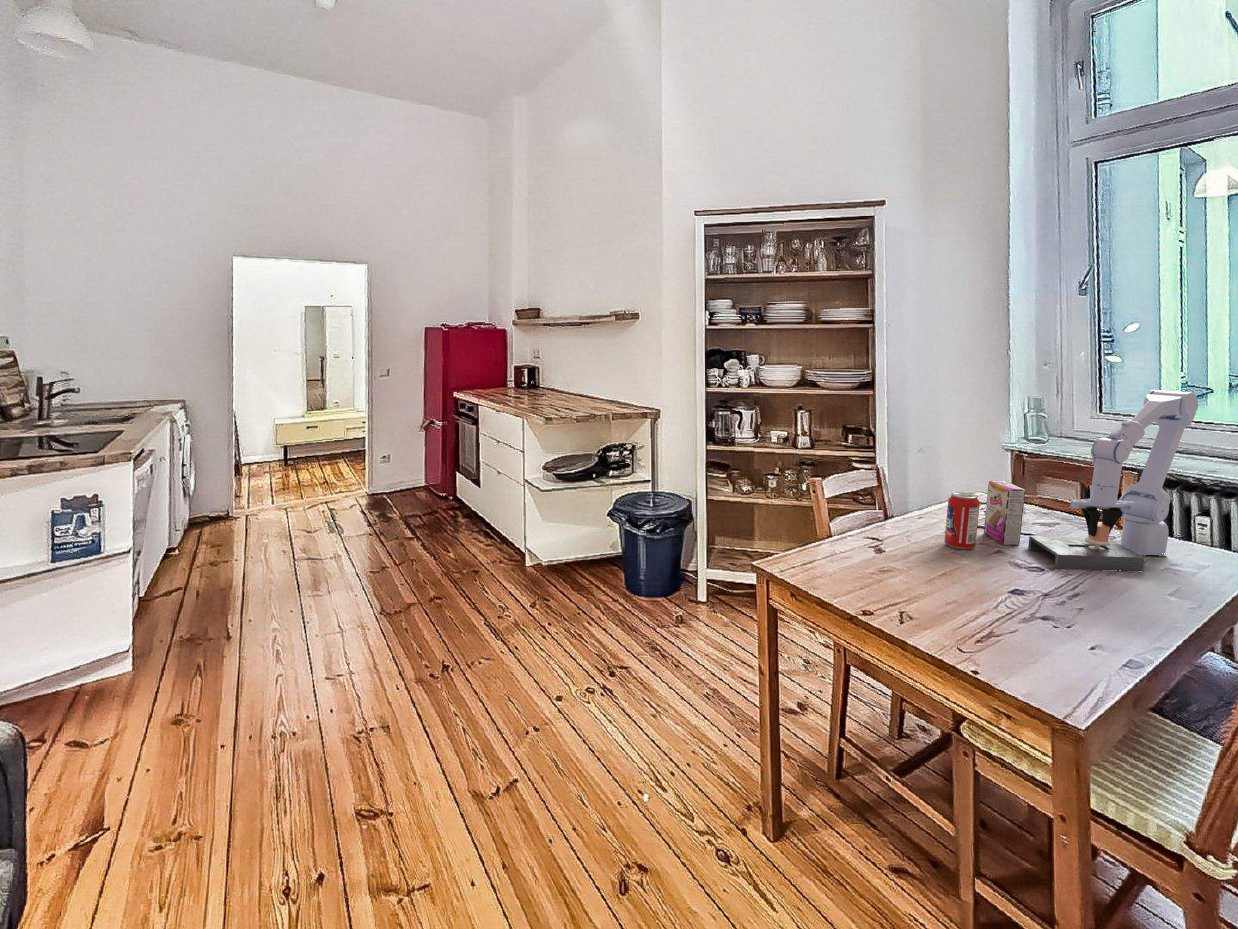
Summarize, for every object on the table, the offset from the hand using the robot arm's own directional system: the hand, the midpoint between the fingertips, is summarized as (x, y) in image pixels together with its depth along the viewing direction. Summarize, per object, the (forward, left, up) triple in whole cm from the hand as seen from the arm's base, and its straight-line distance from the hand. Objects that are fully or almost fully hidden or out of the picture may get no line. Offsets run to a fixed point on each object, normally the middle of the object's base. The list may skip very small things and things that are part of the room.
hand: (1098, 535), depth 175 cm
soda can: (+31, -8, -7) cm, 33 cm away
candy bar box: (+17, -16, -7) cm, 24 cm away
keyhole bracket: (+3, 0, -7) cm, 7 cm away
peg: (0, 0, -4) cm, 4 cm away
